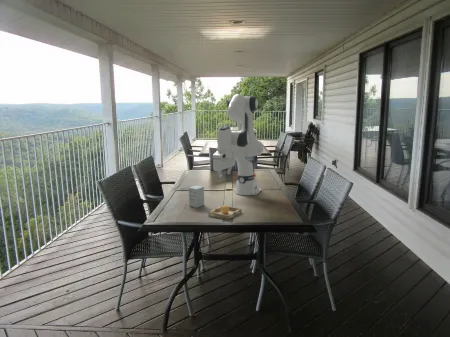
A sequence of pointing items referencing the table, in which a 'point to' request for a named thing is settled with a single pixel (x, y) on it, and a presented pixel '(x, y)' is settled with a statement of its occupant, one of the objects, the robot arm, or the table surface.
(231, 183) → the table surface
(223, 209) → the ball
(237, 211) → the tray
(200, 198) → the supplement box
